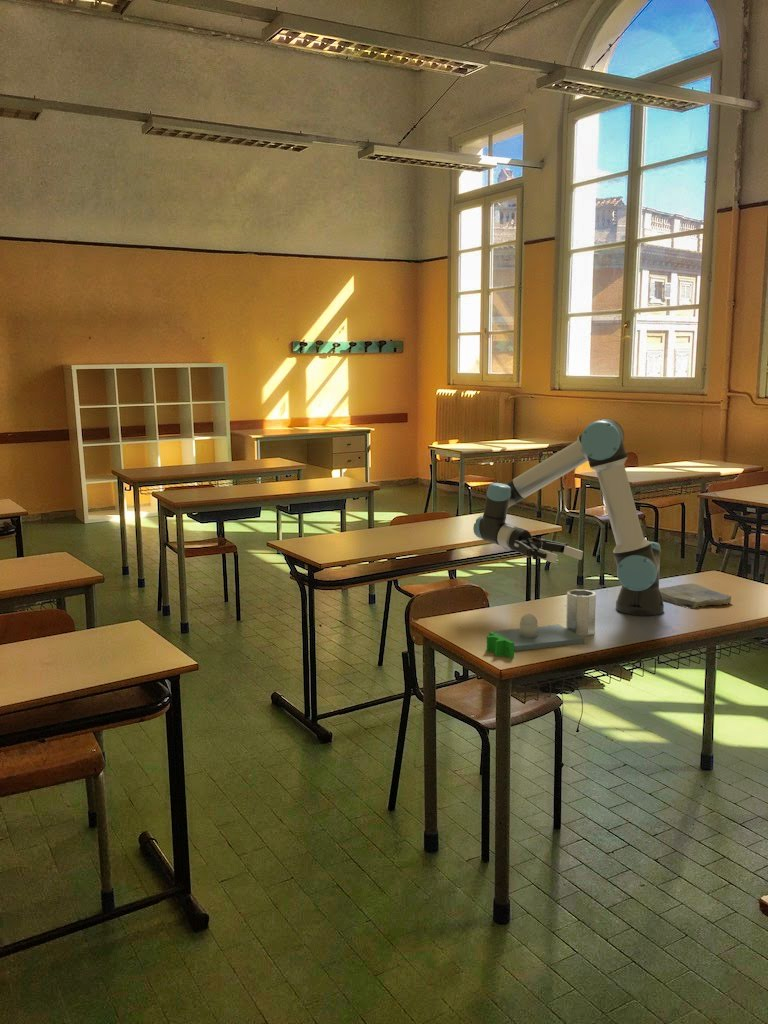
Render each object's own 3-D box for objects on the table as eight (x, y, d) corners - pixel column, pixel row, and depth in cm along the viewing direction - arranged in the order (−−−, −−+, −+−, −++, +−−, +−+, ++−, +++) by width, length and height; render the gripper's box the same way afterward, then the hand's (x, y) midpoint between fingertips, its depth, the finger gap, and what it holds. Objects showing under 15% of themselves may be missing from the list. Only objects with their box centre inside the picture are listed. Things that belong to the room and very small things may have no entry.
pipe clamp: (481, 649, 245) (481, 633, 244) (492, 647, 246) (492, 631, 246) (502, 660, 235) (502, 643, 234) (514, 658, 236) (514, 642, 236)
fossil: (695, 614, 282) (735, 605, 289) (695, 601, 281) (734, 591, 288) (653, 602, 300) (691, 593, 307) (653, 589, 299) (690, 581, 306)
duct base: (558, 629, 262) (558, 603, 261) (584, 643, 248) (584, 616, 247) (492, 636, 256) (492, 610, 254) (515, 651, 242) (515, 623, 240)
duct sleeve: (578, 626, 265) (579, 588, 263) (599, 632, 259) (601, 593, 257) (560, 631, 260) (561, 592, 258) (582, 637, 254) (583, 597, 252)
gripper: (536, 547, 286) (589, 565, 271) (488, 552, 269) (542, 572, 254) (540, 525, 284) (594, 542, 270) (492, 529, 267) (547, 548, 252)
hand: (569, 557), depth 262 cm, fingers open, 13 cm apart
